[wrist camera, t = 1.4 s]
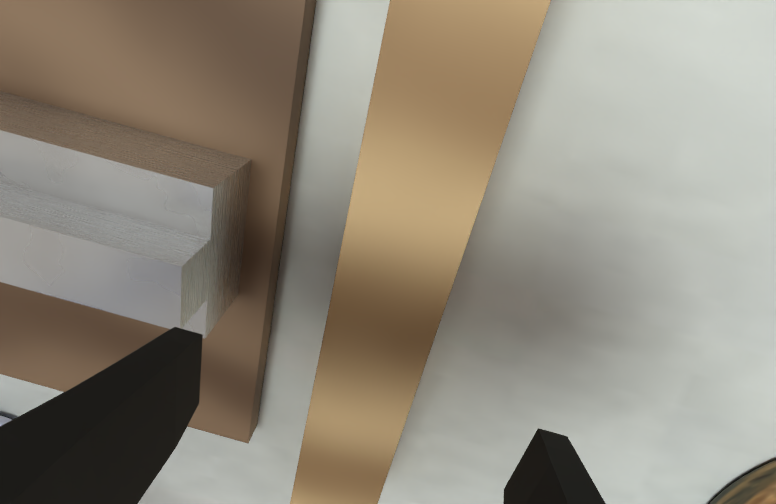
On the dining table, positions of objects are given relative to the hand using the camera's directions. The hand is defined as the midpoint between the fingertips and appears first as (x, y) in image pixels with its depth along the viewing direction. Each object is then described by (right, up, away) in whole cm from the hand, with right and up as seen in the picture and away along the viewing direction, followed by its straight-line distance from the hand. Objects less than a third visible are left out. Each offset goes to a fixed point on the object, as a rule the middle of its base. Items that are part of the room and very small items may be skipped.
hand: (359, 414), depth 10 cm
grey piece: (-9, +6, +6) cm, 13 cm away
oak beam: (+1, +3, +6) cm, 7 cm away
